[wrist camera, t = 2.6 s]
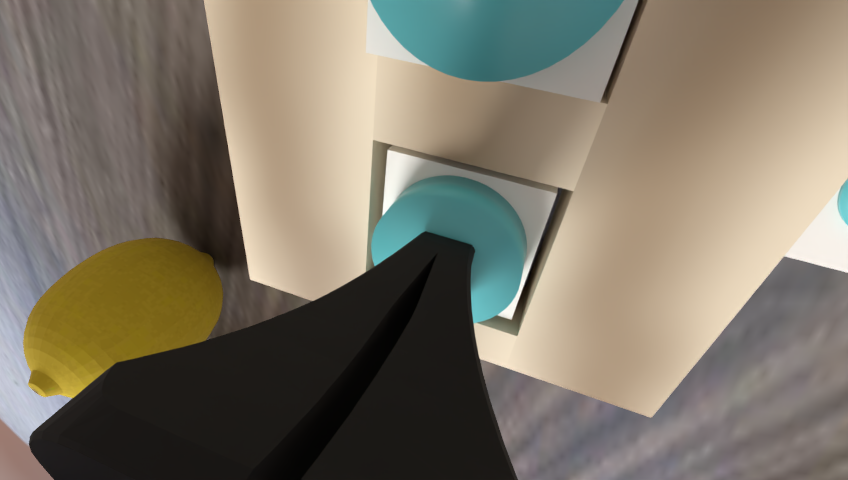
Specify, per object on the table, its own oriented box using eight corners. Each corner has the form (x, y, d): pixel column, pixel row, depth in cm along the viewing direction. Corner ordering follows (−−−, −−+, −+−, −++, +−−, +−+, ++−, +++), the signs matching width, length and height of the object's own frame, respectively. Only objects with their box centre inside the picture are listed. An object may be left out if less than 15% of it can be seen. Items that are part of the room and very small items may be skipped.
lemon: (142, 201, 19) (-74, 315, 13) (239, 214, 18) (47, 352, 11) (185, 291, 22) (26, 420, 16) (271, 309, 21) (133, 461, 14)
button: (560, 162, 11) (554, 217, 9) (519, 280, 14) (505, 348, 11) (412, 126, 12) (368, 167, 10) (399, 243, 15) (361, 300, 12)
